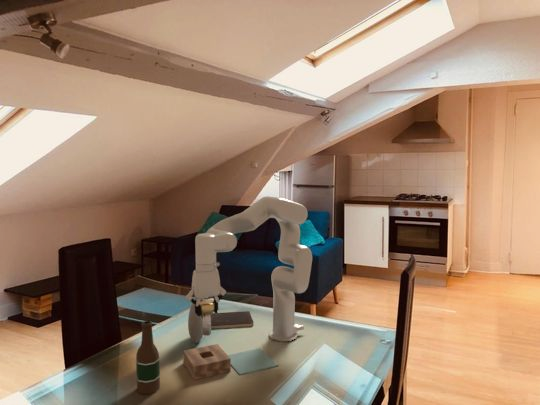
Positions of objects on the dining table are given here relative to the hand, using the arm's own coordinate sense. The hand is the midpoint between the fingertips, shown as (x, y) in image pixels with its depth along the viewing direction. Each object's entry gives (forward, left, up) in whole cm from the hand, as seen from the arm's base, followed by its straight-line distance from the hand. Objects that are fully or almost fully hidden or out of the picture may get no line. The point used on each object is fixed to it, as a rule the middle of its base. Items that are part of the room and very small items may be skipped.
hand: (206, 313), depth 164 cm
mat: (-17, +3, -21) cm, 27 cm away
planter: (-4, -24, -21) cm, 32 cm away
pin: (0, 0, -8) cm, 8 cm away
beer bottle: (+23, +6, -21) cm, 32 cm away
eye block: (0, 0, -21) cm, 21 cm away
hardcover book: (-24, -39, -22) cm, 51 cm away
